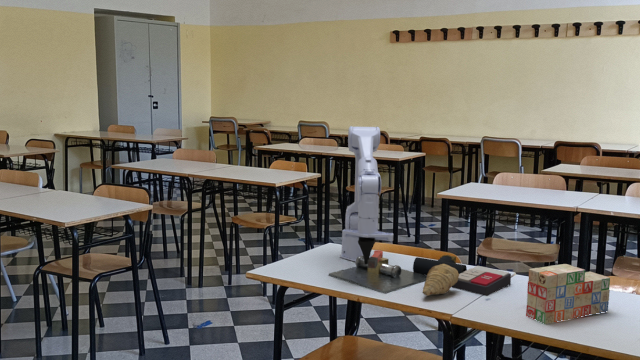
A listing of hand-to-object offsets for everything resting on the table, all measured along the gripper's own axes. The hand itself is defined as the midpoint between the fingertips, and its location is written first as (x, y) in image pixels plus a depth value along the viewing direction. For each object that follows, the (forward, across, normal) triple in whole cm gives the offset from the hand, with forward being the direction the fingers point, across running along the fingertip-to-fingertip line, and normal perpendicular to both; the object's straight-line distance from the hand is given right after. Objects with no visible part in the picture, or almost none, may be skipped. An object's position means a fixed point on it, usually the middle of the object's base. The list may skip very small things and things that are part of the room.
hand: (366, 263), depth 172 cm
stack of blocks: (+6, +53, -9) cm, 54 cm away
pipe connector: (+6, +20, +16) cm, 27 cm away
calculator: (+6, +32, +8) cm, 34 cm away
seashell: (+6, +21, -5) cm, 22 cm away
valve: (+6, +3, +6) cm, 9 cm away
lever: (+1, +2, +4) cm, 5 cm away
